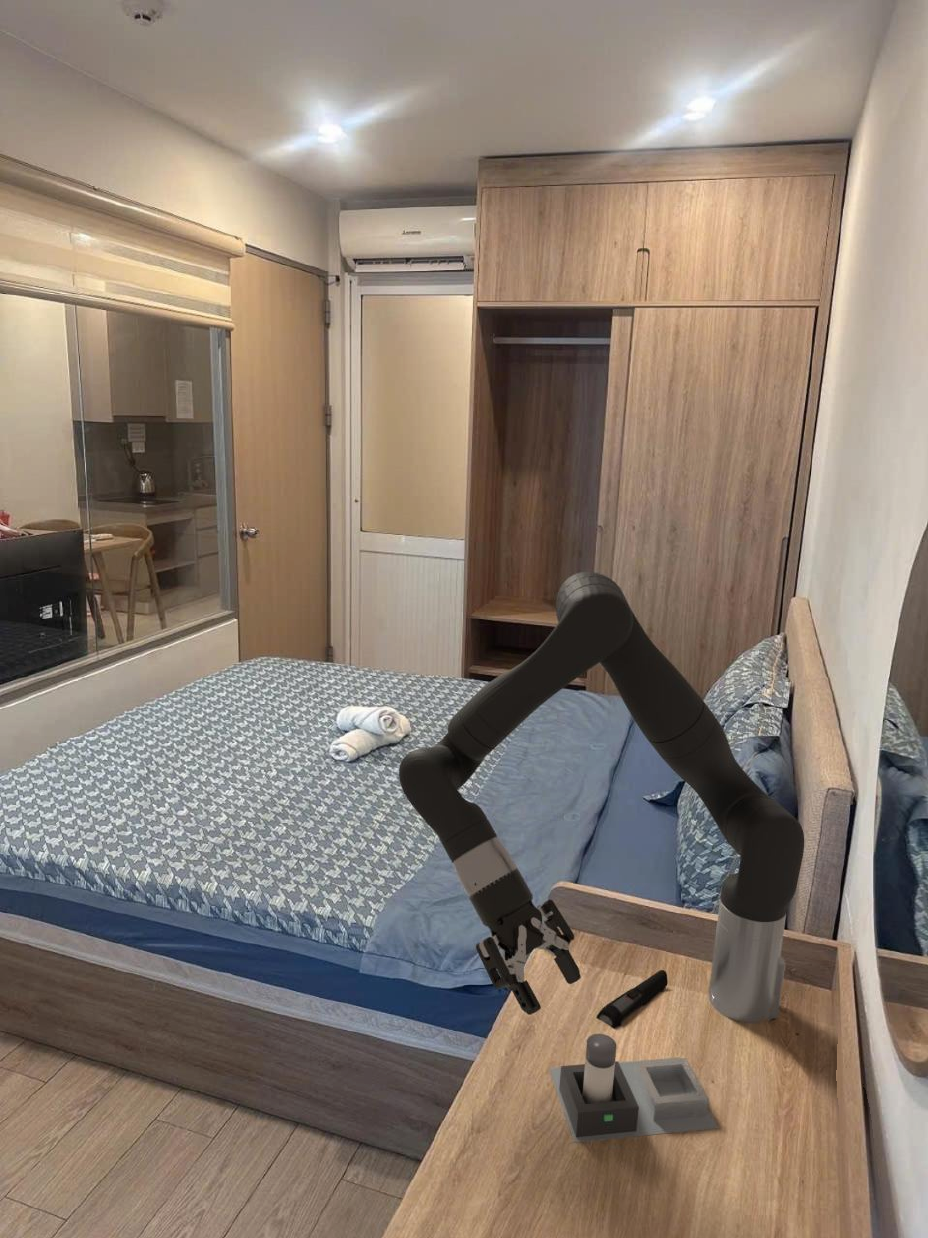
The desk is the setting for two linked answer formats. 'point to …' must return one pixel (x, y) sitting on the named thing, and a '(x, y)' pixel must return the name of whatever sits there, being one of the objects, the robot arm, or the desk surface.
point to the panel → (644, 1109)
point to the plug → (599, 1069)
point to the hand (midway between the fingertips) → (555, 996)
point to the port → (598, 1104)
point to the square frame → (676, 1104)
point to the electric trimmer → (633, 999)
